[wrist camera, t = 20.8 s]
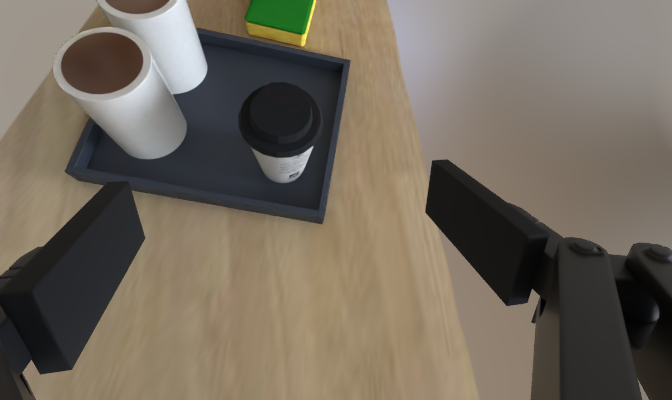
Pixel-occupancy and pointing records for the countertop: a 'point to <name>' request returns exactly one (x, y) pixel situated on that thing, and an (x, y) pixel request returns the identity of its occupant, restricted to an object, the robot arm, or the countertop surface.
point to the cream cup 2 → (163, 37)
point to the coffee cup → (281, 129)
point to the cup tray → (230, 134)
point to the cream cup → (121, 90)
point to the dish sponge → (280, 19)
